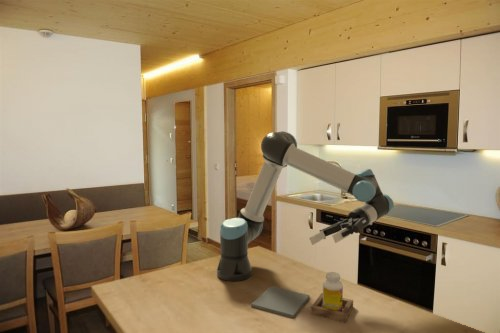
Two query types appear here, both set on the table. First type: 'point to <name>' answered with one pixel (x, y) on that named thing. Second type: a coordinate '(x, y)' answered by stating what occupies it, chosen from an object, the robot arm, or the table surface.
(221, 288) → the table surface
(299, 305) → the slate mat
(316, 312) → the locating collar
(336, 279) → the supplement bottle
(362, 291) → the table surface
